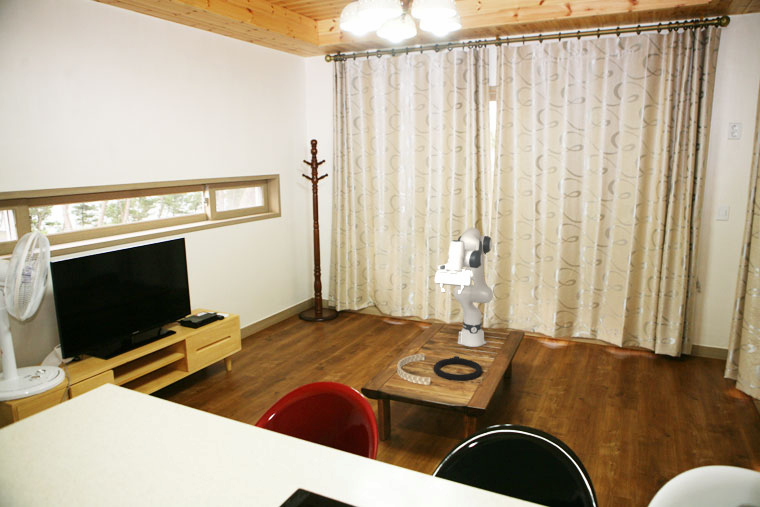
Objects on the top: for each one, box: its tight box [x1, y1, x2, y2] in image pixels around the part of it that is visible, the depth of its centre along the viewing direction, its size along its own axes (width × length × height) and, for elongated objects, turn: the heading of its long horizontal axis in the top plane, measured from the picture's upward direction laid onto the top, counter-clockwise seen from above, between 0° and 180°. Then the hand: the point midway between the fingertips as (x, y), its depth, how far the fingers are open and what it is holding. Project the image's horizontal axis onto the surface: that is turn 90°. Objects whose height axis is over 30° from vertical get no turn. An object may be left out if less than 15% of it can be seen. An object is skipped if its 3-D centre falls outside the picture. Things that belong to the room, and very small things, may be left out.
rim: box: [396, 353, 431, 386], centre depth 296 cm, size 37×17×4 cm, turn 0°
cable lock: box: [433, 355, 483, 382], centre depth 296 cm, size 28×4×30 cm
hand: (451, 293), depth 282 cm, fingers open, 8 cm apart
